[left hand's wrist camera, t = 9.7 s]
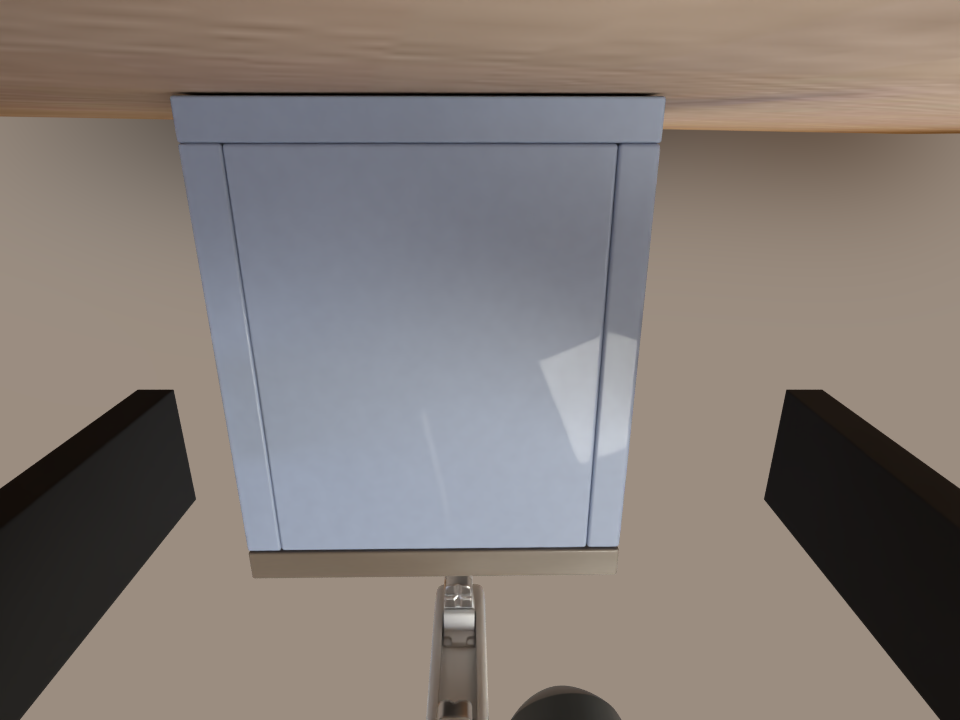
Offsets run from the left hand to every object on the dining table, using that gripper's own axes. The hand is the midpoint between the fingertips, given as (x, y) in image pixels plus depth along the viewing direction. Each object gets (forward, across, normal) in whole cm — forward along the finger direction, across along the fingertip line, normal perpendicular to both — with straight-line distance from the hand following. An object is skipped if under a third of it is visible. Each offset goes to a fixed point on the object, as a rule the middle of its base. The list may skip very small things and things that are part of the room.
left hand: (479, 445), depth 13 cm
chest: (+9, +1, -7) cm, 11 cm away
